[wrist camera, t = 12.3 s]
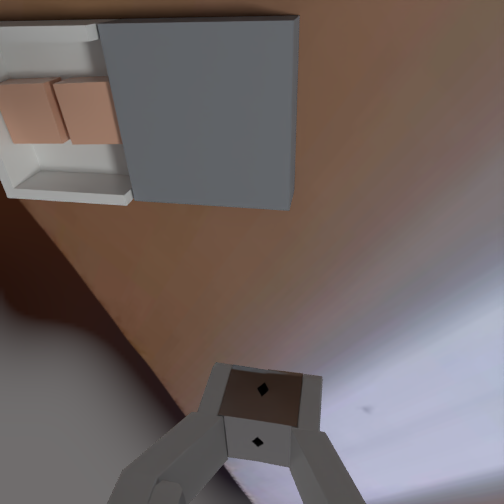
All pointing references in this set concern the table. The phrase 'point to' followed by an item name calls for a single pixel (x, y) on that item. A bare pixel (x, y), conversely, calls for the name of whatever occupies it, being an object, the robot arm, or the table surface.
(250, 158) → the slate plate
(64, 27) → the bin
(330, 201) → the table surface
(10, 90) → the rear tile
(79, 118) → the front tile
